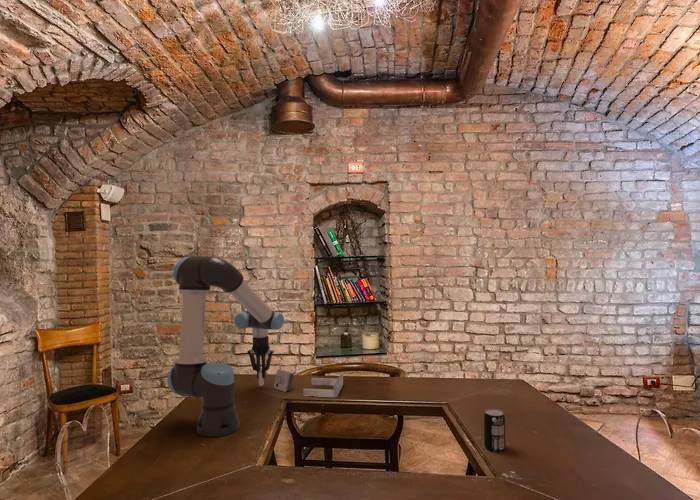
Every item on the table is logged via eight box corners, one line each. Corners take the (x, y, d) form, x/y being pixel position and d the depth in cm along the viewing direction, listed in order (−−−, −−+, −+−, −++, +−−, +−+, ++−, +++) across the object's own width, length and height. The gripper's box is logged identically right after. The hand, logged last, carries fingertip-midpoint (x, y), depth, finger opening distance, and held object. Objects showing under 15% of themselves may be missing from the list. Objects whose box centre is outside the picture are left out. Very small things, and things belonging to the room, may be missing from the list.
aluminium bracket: (336, 397, 196) (336, 386, 196) (303, 396, 198) (303, 385, 198) (343, 384, 213) (343, 374, 213) (312, 383, 216) (312, 373, 216)
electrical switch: (273, 388, 210) (274, 369, 210) (281, 387, 213) (283, 367, 214) (285, 393, 203) (286, 372, 204) (293, 391, 207) (295, 371, 207)
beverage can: (488, 441, 149) (488, 406, 149) (508, 447, 145) (507, 411, 145) (481, 448, 144) (480, 412, 144) (500, 454, 140) (500, 417, 140)
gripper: (275, 334, 213) (276, 382, 213) (250, 334, 214) (251, 382, 215) (271, 337, 205) (271, 387, 205) (244, 337, 207) (245, 386, 207)
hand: (261, 384), depth 210 cm, fingers closed
